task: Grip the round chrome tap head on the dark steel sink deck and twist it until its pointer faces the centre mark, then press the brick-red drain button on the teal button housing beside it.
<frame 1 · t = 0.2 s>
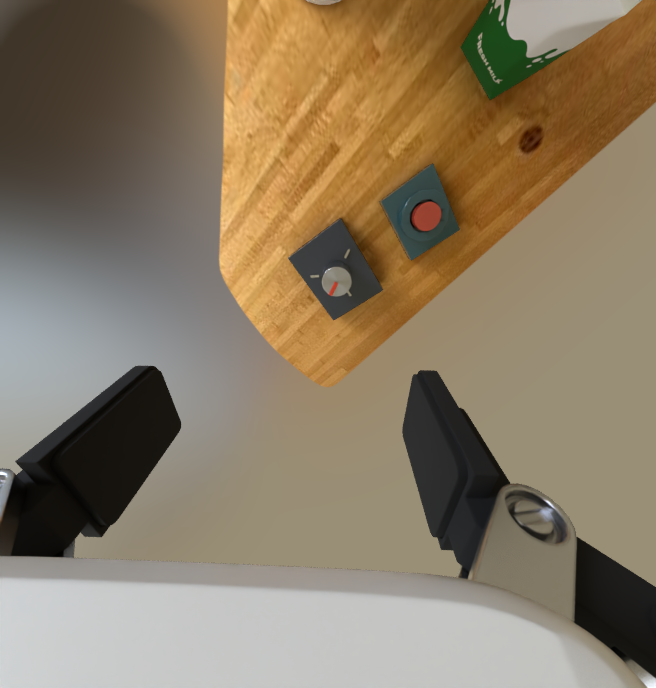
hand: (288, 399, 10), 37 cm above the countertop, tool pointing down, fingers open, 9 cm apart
teal button housing: (417, 215, 39), on the countertop
sink deck: (336, 270, 44), on the countertop
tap: (336, 278, 39), point 5 cm above the countertop, hinge at -60.0°
milk carton: (500, 46, 30), on the countertop
drain button: (426, 216, 35), point 4 cm above the countertop, slide at 0.1 cm
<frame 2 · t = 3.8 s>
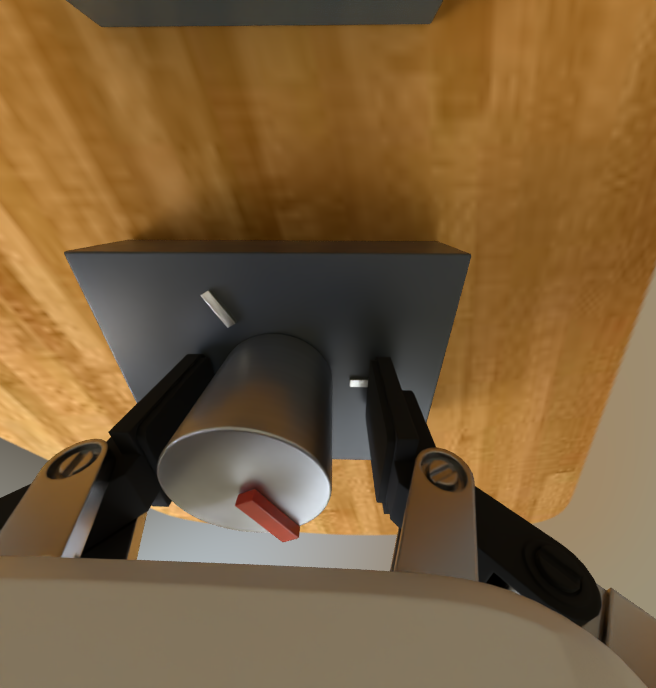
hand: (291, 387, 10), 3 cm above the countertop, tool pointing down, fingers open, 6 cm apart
sink deck: (290, 344, 13), on the countertop
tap: (264, 426, 8), point 5 cm above the countertop, hinge at -60.0°
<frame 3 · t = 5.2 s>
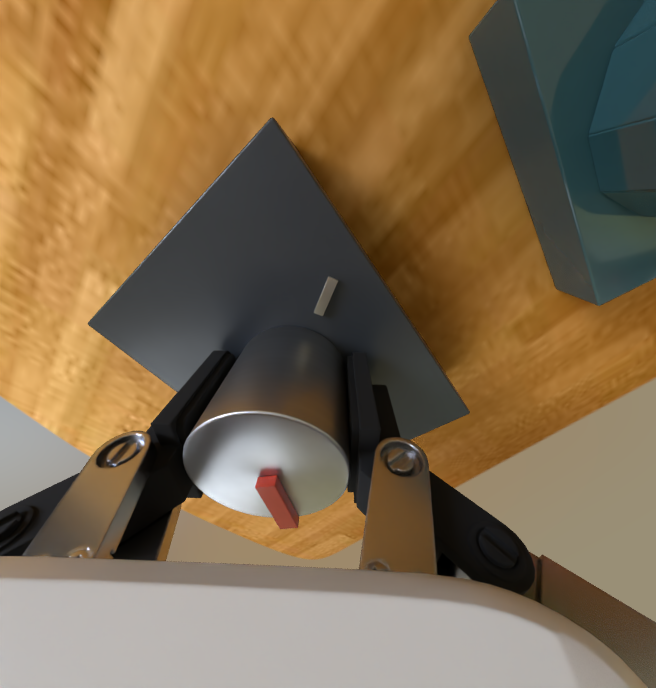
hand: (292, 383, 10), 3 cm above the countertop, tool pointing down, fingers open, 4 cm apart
teal button housing: (644, 101, 8), on the countertop
sink deck: (301, 338, 13), on the countertop
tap: (282, 415, 8), point 5 cm above the countertop, hinge at -24.7°
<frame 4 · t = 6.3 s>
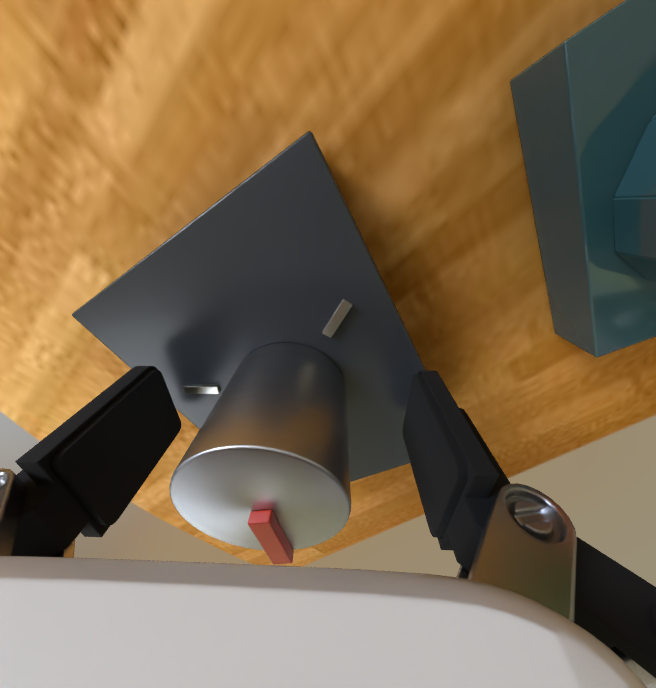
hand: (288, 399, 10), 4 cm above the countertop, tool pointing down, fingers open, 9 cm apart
sink deck: (300, 351, 13), on the countertop
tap: (278, 438, 8), point 5 cm above the countertop, hinge at -19.2°
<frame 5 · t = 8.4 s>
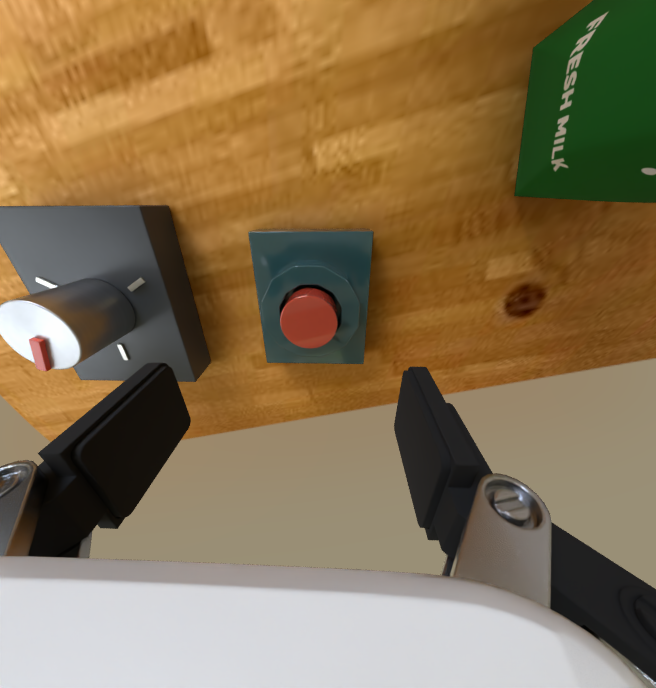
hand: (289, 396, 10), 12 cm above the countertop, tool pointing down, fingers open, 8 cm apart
teal button housing: (315, 296, 20), on the countertop
sink deck: (133, 295, 21), on the countertop
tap: (73, 322, 16), point 5 cm above the countertop, hinge at -19.2°
milk carton: (583, 114, 15), on the countertop
drain button: (309, 318, 16), point 4 cm above the countertop, slide at 0.1 cm
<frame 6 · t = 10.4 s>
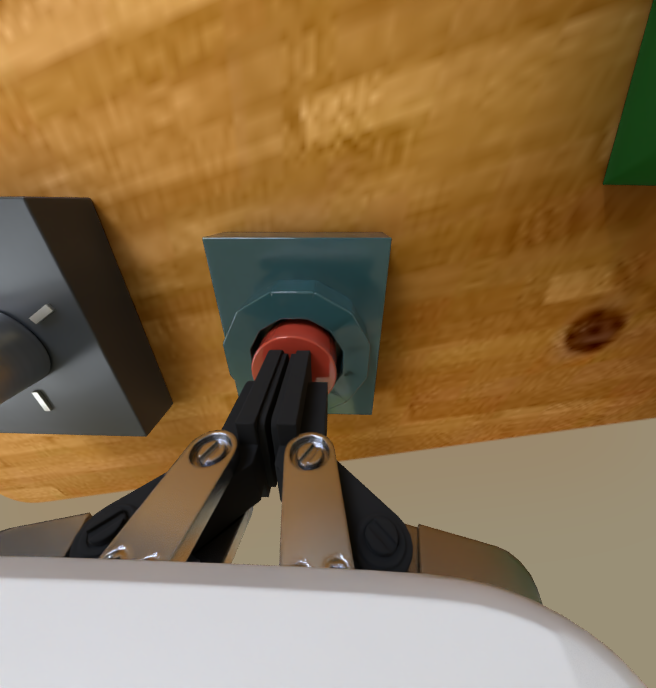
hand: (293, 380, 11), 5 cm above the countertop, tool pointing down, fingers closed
teal button housing: (306, 324, 15), on the countertop
sink deck: (61, 321, 15), on the countertop
drain button: (296, 363, 11), point 4 cm above the countertop, slide at -0.3 cm, touching gripper
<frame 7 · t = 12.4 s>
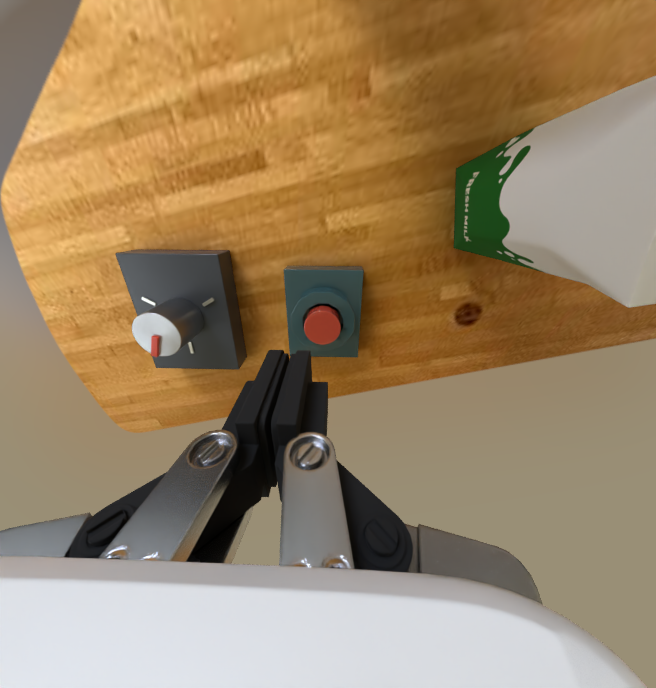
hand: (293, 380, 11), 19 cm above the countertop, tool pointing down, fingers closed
teal button housing: (324, 310, 29), on the countertop
sink deck: (197, 308, 30), on the countertop
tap: (170, 326, 25), point 5 cm above the countertop, hinge at -19.2°
milk carton: (491, 202, 24), on the countertop
drain button: (322, 325, 25), point 4 cm above the countertop, slide at 0.1 cm
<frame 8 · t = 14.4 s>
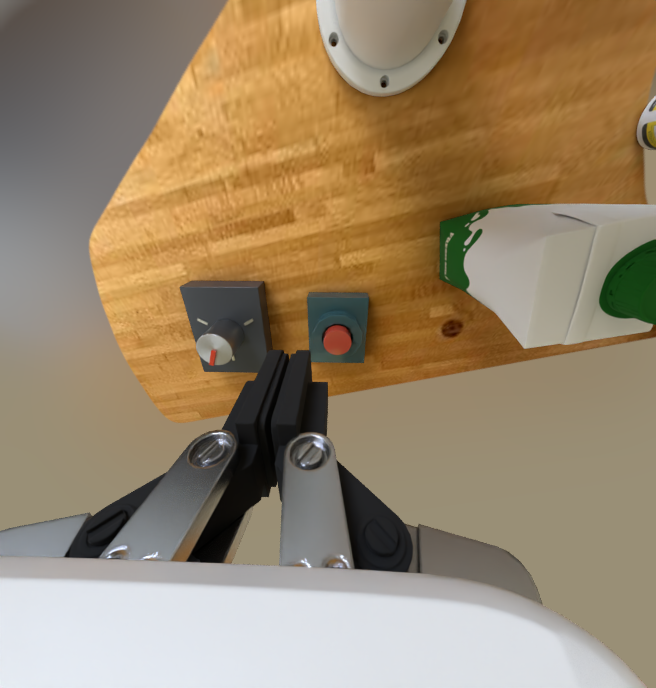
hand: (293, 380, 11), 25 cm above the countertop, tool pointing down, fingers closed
teal button housing: (337, 325, 37), on the countertop
sink deck: (236, 324, 37), on the countertop
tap: (221, 342, 33), point 5 cm above the countertop, hinge at -19.2°
milk carton: (467, 245, 31), on the countertop
drain button: (337, 340, 33), point 4 cm above the countertop, slide at 0.1 cm
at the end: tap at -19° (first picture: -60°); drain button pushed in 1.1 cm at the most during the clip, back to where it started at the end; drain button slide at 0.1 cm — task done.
